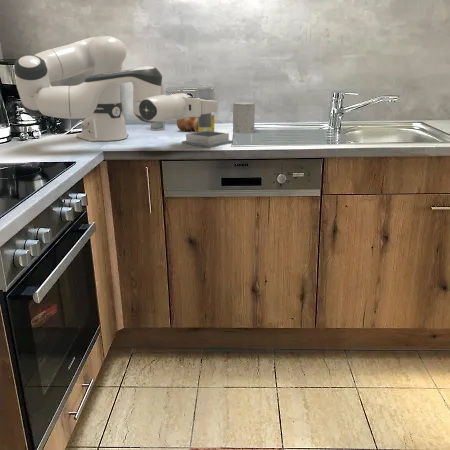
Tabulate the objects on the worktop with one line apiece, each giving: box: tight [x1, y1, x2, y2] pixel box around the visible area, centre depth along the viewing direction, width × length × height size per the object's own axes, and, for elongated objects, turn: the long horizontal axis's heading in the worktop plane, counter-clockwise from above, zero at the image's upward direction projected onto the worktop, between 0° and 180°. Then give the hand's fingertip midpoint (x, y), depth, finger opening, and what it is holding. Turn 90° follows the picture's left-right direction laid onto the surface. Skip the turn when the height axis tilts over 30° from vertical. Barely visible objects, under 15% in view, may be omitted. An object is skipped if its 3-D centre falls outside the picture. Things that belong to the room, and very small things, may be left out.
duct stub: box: [196, 84, 213, 127], centre depth 187 cm, size 5×5×15 cm
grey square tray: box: [181, 130, 234, 149], centre depth 192 cm, size 14×14×4 cm
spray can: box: [150, 83, 166, 132], centre depth 223 cm, size 6×6×20 cm
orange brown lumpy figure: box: [176, 117, 198, 133], centre depth 219 cm, size 19×11×15 cm
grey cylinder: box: [232, 101, 256, 134], centre depth 219 cm, size 10×10×12 cm
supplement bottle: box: [198, 112, 215, 132], centre depth 206 cm, size 7×7×13 cm
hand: (207, 103), depth 187 cm, fingers closed on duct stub, 5 cm apart
